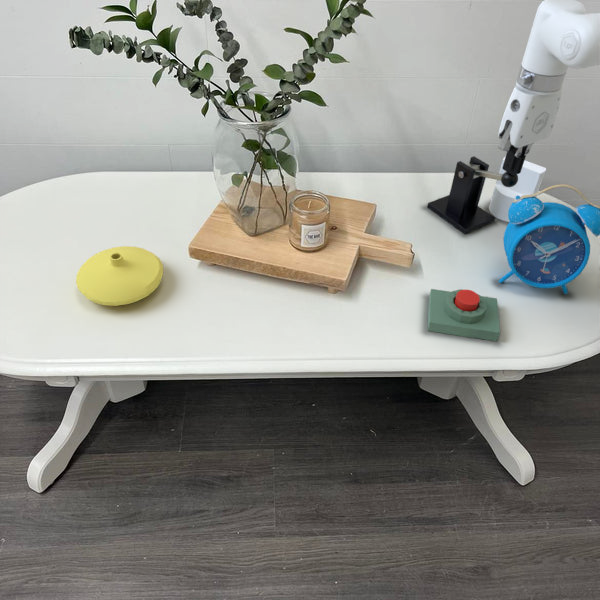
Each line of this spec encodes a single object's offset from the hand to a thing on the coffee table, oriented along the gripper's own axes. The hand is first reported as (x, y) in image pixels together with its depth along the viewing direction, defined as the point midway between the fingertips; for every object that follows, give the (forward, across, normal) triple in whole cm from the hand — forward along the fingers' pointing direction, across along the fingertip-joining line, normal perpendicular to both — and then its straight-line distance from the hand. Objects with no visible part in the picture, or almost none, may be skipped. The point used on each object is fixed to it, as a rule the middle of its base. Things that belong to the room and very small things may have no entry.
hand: (511, 171), depth 112 cm
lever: (+5, 0, +4) cm, 6 cm away
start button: (+12, -24, -15) cm, 31 cm away
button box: (+16, -24, -15) cm, 32 cm away
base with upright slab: (+16, +11, +4) cm, 20 cm away
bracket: (+16, 0, +9) cm, 18 cm away
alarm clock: (+16, -4, -15) cm, 22 cm away
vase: (+16, -72, +25) cm, 78 cm away
